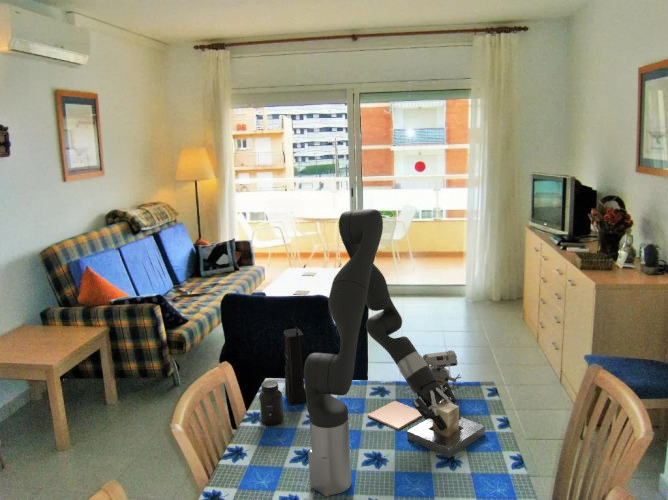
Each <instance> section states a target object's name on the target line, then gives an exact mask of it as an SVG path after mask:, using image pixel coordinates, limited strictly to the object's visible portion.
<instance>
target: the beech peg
mask: <svg viewBox="0 0 668 500" xmlns="http://www.w3.org/2000/svg"><path fill="white" fill-rule="evenodd" d="M436 409H437V411H438V416H439V415H440V417H441V418H442V420H443V421H444V423H445V424H446V426H447V428H446V429H444V430H443V431H441V430H440V429H438V427H437V426H436V424H435V423H434V421H433V431H434V432H436V433H439V434H441V435H443V436H446V437H448V438H449V437H451V436H452V435H454V434H456V433H457V432H459V415H460V405H456V404H451V403H449V402H444V401H443V402H441V403H439V404H437V408H436Z"/></svg>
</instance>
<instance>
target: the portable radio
mask: <svg viewBox="0 0 668 500" xmlns="http://www.w3.org/2000/svg"><path fill="white" fill-rule="evenodd" d="M304 343H305V335H304V333H303V332H302V331H301V329H300V328H298V326H296V327H295V328H289V329H284V330H283V348H284V351H283V352H284V357H285V365H284V381H285V382H284V383H285V384H284V386H285V387H284V388H285V390H284V393H285V394H284V396H285V398H286V400H287V402H288V403H289V404H290V405H291V406H295V405H301V404H305V403H307V400H306V392H305V384H304V365H303V362H304V361H303V347H302V345H303V344H304Z"/></svg>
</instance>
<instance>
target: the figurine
mask: <svg viewBox="0 0 668 500" xmlns="http://www.w3.org/2000/svg"><path fill="white" fill-rule="evenodd" d="M457 357H458V356H457V354H456V352H455V351H454V350H448V351H442V352H433V353H432V352H431V353H425V354H423V356H422V358H423V359H424V361H425V362H426V363H427V365H428V366H429V368H430V369H431V371H432V372H433V374H434V375H435V377H436V382H437V383H438V384H439V385H444V384H445V383H448V384H449V381H451V382H453V383H456V382H457V380H458V379H462V376H461V375H460V374H458V375H457V376H456V377H451V376H450V370H449V369H448V367H455V366H456V367H457V366H458V359H457ZM446 367H447V368H446ZM460 386H461V385H460V383H458V385H456V386H454V385H452V386H451V385H449V387H450V389H451V390H452V392H453V391H456V389H460ZM437 404H438V403H437Z"/></svg>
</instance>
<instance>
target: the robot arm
mask: <svg viewBox="0 0 668 500" xmlns="http://www.w3.org/2000/svg"><path fill="white" fill-rule="evenodd" d="M383 220H384V219H383V215H382V214H381V211H379V210H378V209H373V208H367V209H366V208H365V209H355V210H353V209H352V210H347V211H344V212H342V213H341V215H340V217H339V219H338V230H339V236H340V239H341V241H342V244H343V247H344V248H345V251H346V253H347V255H348V258H349V260H348V261H347V262H346V263H345V264H344V265H343V266H342V267H341V269H340V270H339V271H337V274H336V275H335V277H334V278H333V280H332V283H331V287H330V291H329V295H328V302H327V303H328V311H329V313H330V315H331V318H332V319H333V322H334V324H335V327H336V329H337V332H338V335H339V339H340V346H339V347H340V348H339V352H338V354H335V353H322V352H313V353H310V354H309V355H308V356H307V357H306V359H305V362H304V365H303V376H304V388H305V392H306V400H307V402H306V408H307V413H308V417H309V418H308V419H309V432H310V433H309V435H310V449H309V450H308V451H307V453H308V455H307V456H308V457H307V458H308V470H309V484H310V485H309V486H310V488H312V489H314V490H316V492H319V494H322V495H323V496H325V497H329V496H333V495H339V494H342V493H344V492H346V491H348V490H349V489H350V487H351V485H352V470H351V466H352V465H351V446H350V444H351V443H350V427H349V426H350V425H349V423H350V421H349V409H348V406H347V404H346V403H344V401H342V400H340V399H338V398H336V397H334V396H345V395H347V394H348V393H349V391H350V389H351V386H352V383H353V378H354V372H355V364H356V359H357V358H356V357H357V355H356V354H357V349H358V348H357V347H358V341H359V336H360V329H361V325H362V321H363V315H364V313H365V312H364V311H365V307H366V306H367V309H369V310H370V311H374V312H378V311H379V312H378V313H376V314H374V315H373V316H371V317H369V318H367V320H366V322H365V328H366V331H367V334H368V335H369V336H370V337H371V338H372V339H373V340H374V341H375V342H377V344H379V345H380V346H381V347H382V348H383V349H384V350H385V351H386V352H387V353H388V354H389V356H390V357H391V359H392V360H393V362H394V363H395V364H396V366H397V368H398V370H399V372H400V374H401V376H402V377H403V378H404V380H405V381H406V383H407V385H408V386H409V388H410V389H411V391H412V392H413V393H414V394H416V395H417V398H415V399H414V400H413V401H412V402H411V405H413V408H414V409H417V410H418V411H419V413H420V414H421V415H422V418H424V420H427V419H432V420H433V421H434V423H435V424H436V426H437V427H438V429H440V430H441V431H443V430H444V429H446V428H447V426H446V424H445V423H444V421H443V420H442V418H441V417H440V415H439V416H438V411H437V409H436V408H437V403H438V404H439V403H441V402H443V401H444V402H449V403H451V404H454V405H456V403H457V399H456V396H455V394H454V392H453V390H451V389H450V387H449V386H450V384H449V382H448V383H445V384H444V385H439V384H438V383H437V382H436V377H435V375H434V374H433V372H432V371H431V369H430V368H429V366H430V365H429V366H428V365H427V363H426V362H425V361H424V359H423V356H422V355H421V354H420V353H419V352H418V350H417V349H416V348H415V346H414V344H413V343H412V341H411V339H410V338H408V337H407V336H400V337H399V336H398V337H396V338H395V337H394V338H393V337H392V336H390V335H392V334H394V333H395V332H397V331H399V330H400V329H401V328H402V325H403V318H402V316H401V314H400V312H399V311H398V309H397V308H396V306H395V304H394V303H393V301H392V299H391V295H390V291H389V287H388V283H387V280H386V278H385V276H384V274H383V273H382V271H381V270H380V269H379V268H378V267H377V266H376V265H375V264H374V263H375V258H376V255H377V254H378V250H379V246H380V242H381V240H382V236H383V230H384V221H383ZM460 417H461V416H460V414H459V420H460V419H461V418H460Z"/></svg>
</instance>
